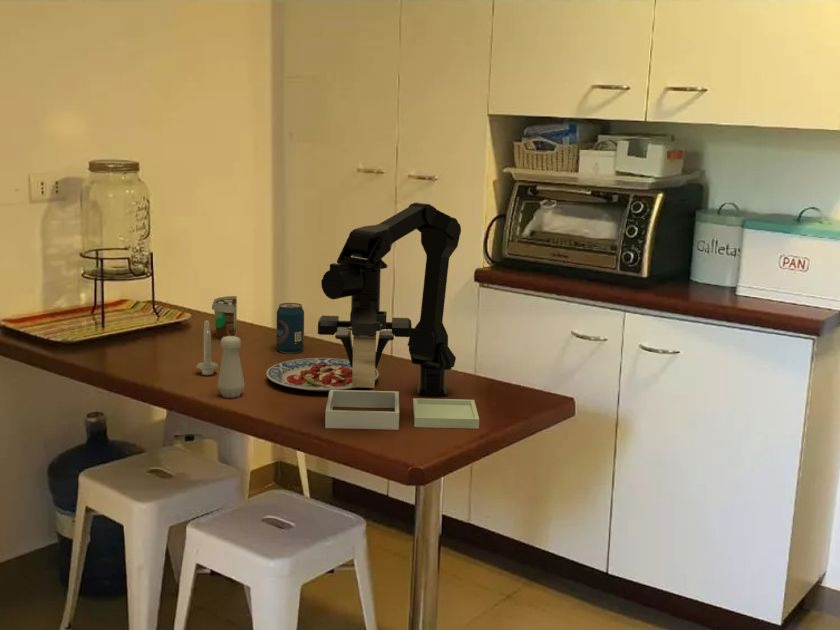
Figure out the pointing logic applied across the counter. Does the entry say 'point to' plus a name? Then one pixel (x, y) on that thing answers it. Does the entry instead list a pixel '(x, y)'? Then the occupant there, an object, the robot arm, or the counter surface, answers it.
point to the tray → (445, 413)
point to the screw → (207, 352)
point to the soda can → (290, 328)
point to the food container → (225, 316)
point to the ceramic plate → (314, 374)
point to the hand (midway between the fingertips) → (364, 367)
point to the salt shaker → (230, 368)
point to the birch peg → (364, 361)
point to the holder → (362, 417)
